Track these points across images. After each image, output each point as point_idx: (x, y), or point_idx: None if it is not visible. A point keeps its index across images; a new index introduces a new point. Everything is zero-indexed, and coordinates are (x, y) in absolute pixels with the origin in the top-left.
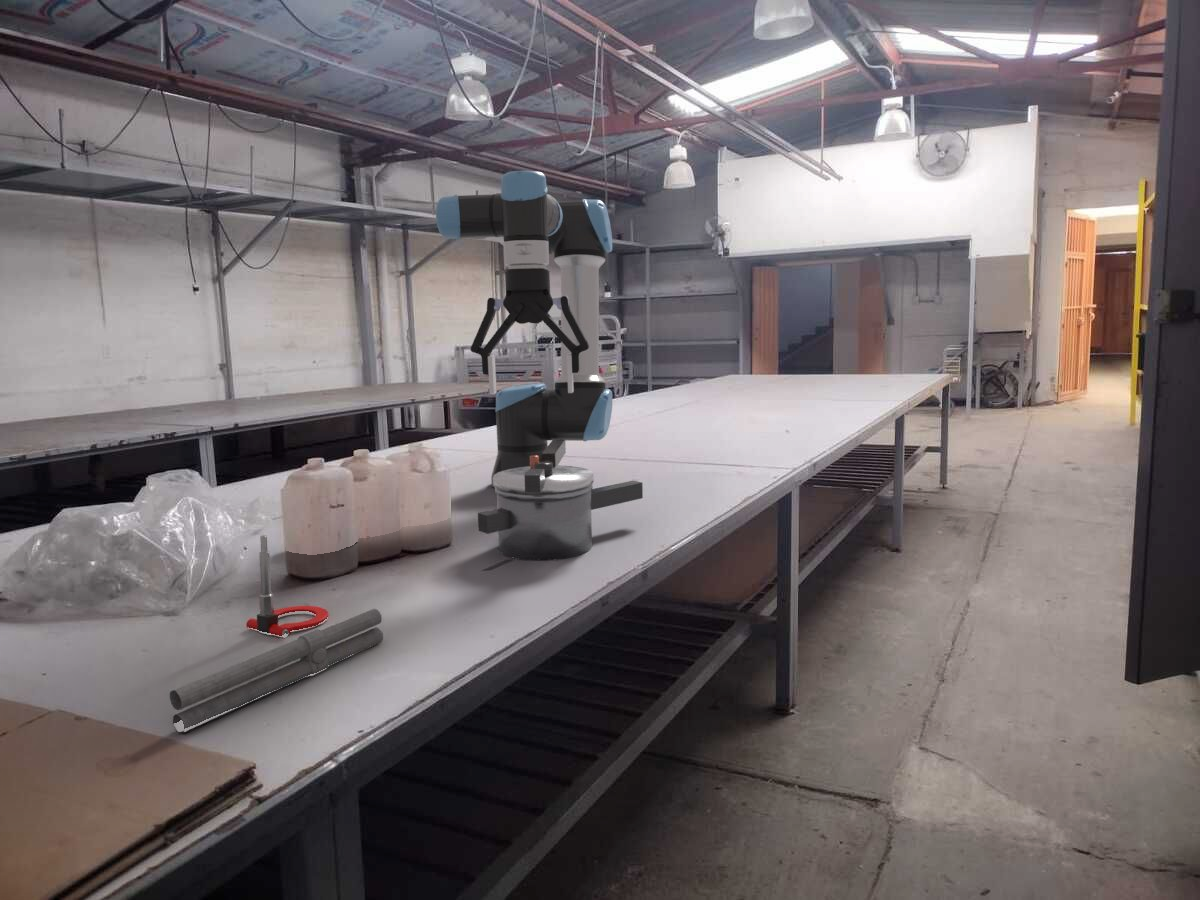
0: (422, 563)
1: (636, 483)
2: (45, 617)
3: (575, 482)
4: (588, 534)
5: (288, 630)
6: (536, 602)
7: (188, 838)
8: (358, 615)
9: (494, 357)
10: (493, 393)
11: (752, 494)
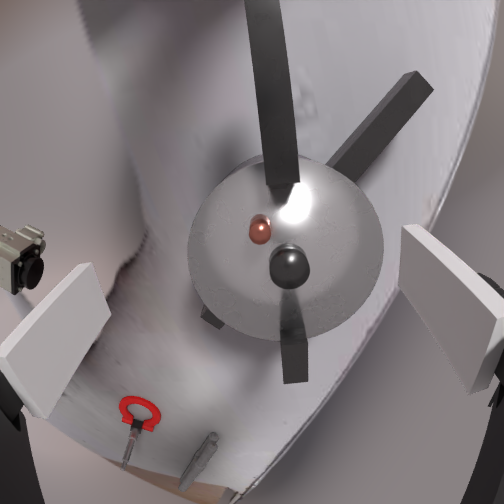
0: (149, 297)
1: (425, 96)
2: None
3: (355, 311)
4: None
5: (153, 428)
6: None
7: (233, 500)
8: (207, 455)
9: (17, 362)
10: (109, 316)
11: None
